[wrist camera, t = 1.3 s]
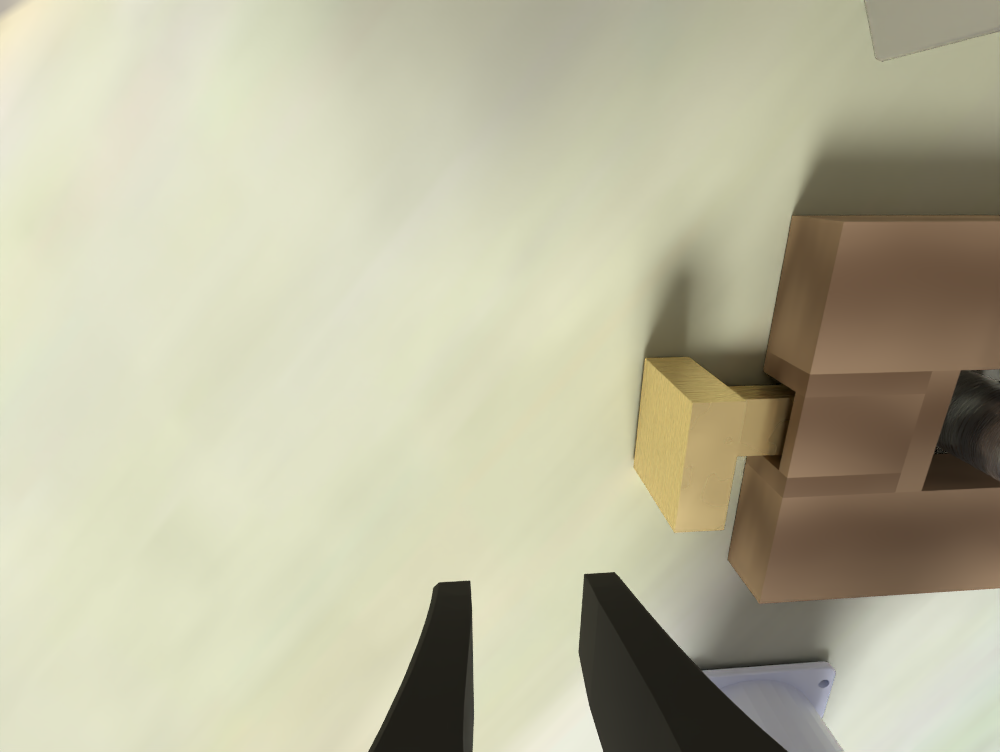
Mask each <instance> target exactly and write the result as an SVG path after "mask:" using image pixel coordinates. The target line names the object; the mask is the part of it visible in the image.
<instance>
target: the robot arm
mask: <svg viewBox="0 0 1000 752" xmlns="http://www.w3.org/2000/svg"><path fill="white" fill-rule="evenodd" d="M579 657H580V662H581V667H582V672H583V677H584V682H585V687H586V692H587V697H588V701H589V706H590V710H591V713H592V716H593V720H594V723H595V726H596V729H597V732H598V736H599V739H600V742H601V745H602V749H603V752H844V750H843V749H842V748H841V746H840V745H839V743H838V742H837V740H836V739H835V737H834V736H833V734H832V733H831V731H830V730H829V728H828V727H827V726H826V724H825V723H824V721H823V720H822V718H823V714H824V711H825V708H826V705H827V701H828V698H829V695H830V691H831V688H832V685H833V681H834V678H835V675H836V671H835V669H834V668H833V666H832V665H831V664H830V663H829V662H823V661H822V662H808V663H795V664H782V665H768V666H755V667H742V668H728V669H715V670H702V671H701V670H700V669H699V668H698V666H697V665H696V664H695V663H694V662H693V661H692V660H691V659H690V658H689V657H688V656H687V655H686V654H685V653H684V651H683V650H682V649H681V648H680V647H679V646H678V645H677V644H676V643H675V642H674V641H673V640H672V638H671V637H670V636H669V635H668V634H667V633H666V632H665V631H664V630H663V628H662V627H661V626H660V625H659V624H658V623H657V622H656V620H655V619H654V618H653V617H652V616H651V615H650V613H649V612H648V611H647V610H646V609H645V608H644V606H643V605H642V604H641V603H640V602H639V600H638V599H637V598H636V597H635V596H634V594H633V593H632V592H631V591H630V590H629V588H628V587H627V586H626V585H625V583H624V582H623V581H622V580H621V579H620V577H619V576H618V575H617V574H616V573H615V572H611V573H594V574H584V585H583V599H582V612H581V626H580V640H579ZM473 726H474V691H473V637H472V601H471V585H470V581H457V582H440V583H438V584H437V585H436V586H435V587H434V588H433V593H432V599H431V603H430V607H429V611H428V614H427V618H426V621H425V624H424V627H423V630H422V633H421V636H420V639H419V642H418V644H417V647H416V649H415V652H414V654H413V657H412V659H411V662H410V664H409V667H408V669H407V672H406V674H405V677H404V679H403V681H402V684H401V686H400V688H399V690H398V692H397V694H396V697H395V699H394V701H393V703H392V705H391V707H390V709H389V711H388V714H387V716H386V718H385V720H384V722H383V724H382V726H381V728H380V730H379V732H378V734H377V736H376V738H375V740H374V742H373V744H372V746H371V748H370V749H369V751H368V752H472V750H473Z"/></svg>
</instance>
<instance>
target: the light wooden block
mask: <svg viewBox="0 0 1000 752" xmlns="http://www.w3.org/2000/svg"><path fill="white" fill-rule="evenodd" d="M795 393H796V392H795V391H794V390H792V389H790V388H789V387H787V386H786V385H763V386H729V387H728V386H726V385H725V384H724V383H722V382H721V381H720V380H718V379H717V378H716V377H715V376H713V375H712V374H711V373H709V372H708V371H707V370H705V369H704V368H703V367H701V366H700V365H699V364H698V363H696V362H695V361H694V360H692V359H691V358H690V357H664V358H645V363H644V372H643V382H642V392H641V401H640V411H639V420H638V430H637V439H636V449H635V458H634V469H635V470H636V472H637V474H638V475H639V477H640V478H641V480H642V482H643V483H644V485H645V486H646V488H647V489H648V491H649V493H650V494H651V496H652V497H653V499H654V501H655V502H656V504H657V505H658V507H659V509H660V510H661V512H662V513H663V515H664V517H665V518H666V520H667V521H668V523H669V525H670V526H671V528H672V529H673V531H674V533H676V532H695V531H714V530H724V526H725V520H726V515H727V509H728V504H729V498H730V493H731V487H732V482H733V476H734V471H735V465H736V460H737V457H738V456H762V455H782V454H783V449H784V444H785V440H786V435H787V430H788V426H789V421H790V416H791V411H792V407H793V402H794V397H795Z"/></svg>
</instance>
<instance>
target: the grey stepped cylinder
mask: <svg viewBox="0 0 1000 752" xmlns="http://www.w3.org/2000/svg"><path fill="white" fill-rule="evenodd" d="M936 446H937V447H939V448H941V449H943V450H944V451H946V452H948V453H950V454H951V455H953V456H955V457H957V458H959V459H960V460H962V461H964V462H966V463H968V464H969V465H971V466H973V467H975V468H977V469H978V470H980V471H982V472H984V473H985V474H987V475H989V476H991V477H993V478H994V479H996V480H998V481H1000V382H999V381H997V380H994V379H991V378H989V377H986V376H983V375H981V374H978V373H975V372H973V371H970V370H961V371H960V374H959V377H958V380H957V383H956V387H955V390H954V393H953V396H952V399H951V402H950V405H949V408H948V411H947V414H946V417H945V420H944V423H943V426H942V429H941V433H940V436H939V439H938V442H937V445H936Z"/></svg>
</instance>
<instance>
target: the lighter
mask: <svg viewBox="0 0 1000 752" xmlns="http://www.w3.org/2000/svg"><path fill="white" fill-rule="evenodd" d="M864 1H865V6H866V11H867V16H868V21H869V27H870V32H871V37H872V42H873V47H874V52H875V58H876V59H878V60H880V61H886V60H890V59H894V58H898V57H902V56H906V55H909V54H913V53H917V52H921V51H925V50H929V49H933V48H936V47H940V46H944V45H948V44H952V43H956V42H960V41H963V40H967V39H971V38H975V37H979V36H983V35H987V34H991V33H994V32H998V31H1000V0H864Z"/></svg>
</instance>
